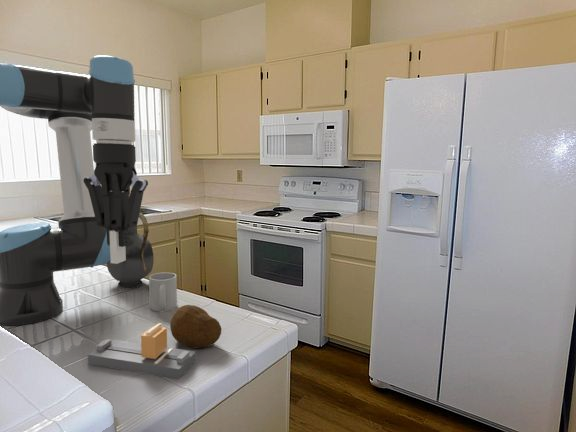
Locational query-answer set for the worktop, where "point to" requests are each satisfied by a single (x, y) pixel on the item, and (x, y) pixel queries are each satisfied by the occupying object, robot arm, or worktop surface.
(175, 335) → the potato
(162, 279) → the cup
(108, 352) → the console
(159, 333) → the slider
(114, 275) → the pitcher
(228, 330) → the worktop surface
